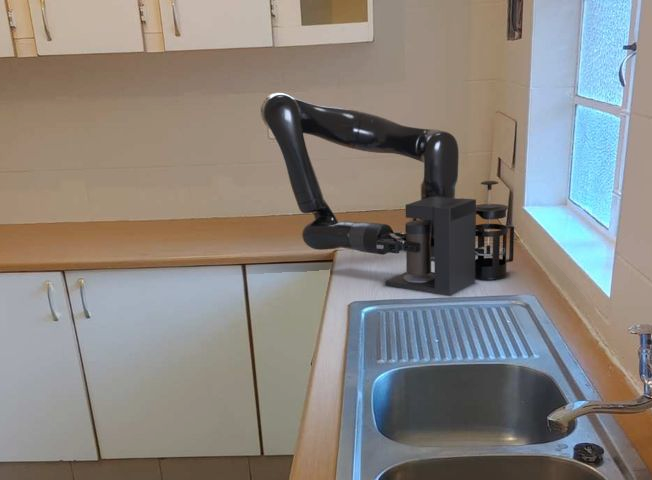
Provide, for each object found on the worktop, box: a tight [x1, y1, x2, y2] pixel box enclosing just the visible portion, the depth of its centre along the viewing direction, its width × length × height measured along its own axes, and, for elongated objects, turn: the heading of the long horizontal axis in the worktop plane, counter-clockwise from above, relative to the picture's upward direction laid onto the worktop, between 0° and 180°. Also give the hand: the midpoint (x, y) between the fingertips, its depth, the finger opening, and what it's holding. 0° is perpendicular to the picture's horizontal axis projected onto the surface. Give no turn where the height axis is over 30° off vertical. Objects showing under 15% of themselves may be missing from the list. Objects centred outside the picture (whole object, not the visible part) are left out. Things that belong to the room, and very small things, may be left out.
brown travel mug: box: [404, 220, 432, 275], centre depth 181 cm, size 6×6×12 cm
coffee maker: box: [385, 197, 477, 297], centre depth 179 cm, size 18×12×20 cm, turn 52°
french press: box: [475, 180, 515, 281], centre depth 183 cm, size 12×9×23 cm
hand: (427, 244), depth 180 cm, fingers closed on brown travel mug, 6 cm apart
